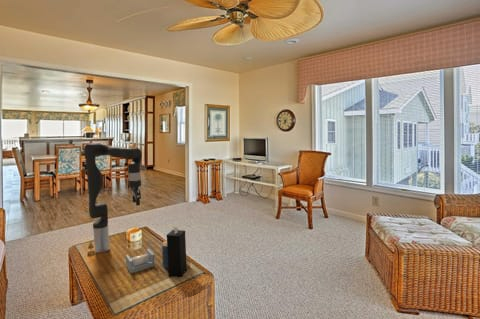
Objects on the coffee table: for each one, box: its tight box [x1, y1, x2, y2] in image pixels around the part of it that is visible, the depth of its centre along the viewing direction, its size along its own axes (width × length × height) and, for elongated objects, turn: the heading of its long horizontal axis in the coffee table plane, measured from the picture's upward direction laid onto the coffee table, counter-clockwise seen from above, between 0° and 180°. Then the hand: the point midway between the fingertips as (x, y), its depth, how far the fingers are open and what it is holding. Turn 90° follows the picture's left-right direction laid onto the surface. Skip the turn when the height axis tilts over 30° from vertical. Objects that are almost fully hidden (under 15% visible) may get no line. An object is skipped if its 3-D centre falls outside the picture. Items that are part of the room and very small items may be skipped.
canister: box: [161, 239, 168, 270], centre depth 161 cm, size 13×13×18 cm
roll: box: [130, 253, 149, 268], centre depth 160 cm, size 9×6×6 cm, turn 126°
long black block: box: [166, 226, 188, 278], centre depth 150 cm, size 8×8×28 cm
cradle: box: [125, 248, 155, 274], centre depth 160 cm, size 10×14×8 cm
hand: (136, 203), depth 168 cm, fingers open, 8 cm apart
